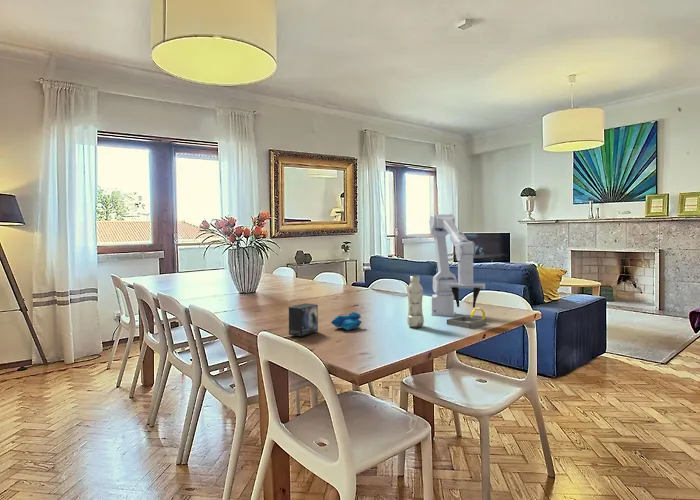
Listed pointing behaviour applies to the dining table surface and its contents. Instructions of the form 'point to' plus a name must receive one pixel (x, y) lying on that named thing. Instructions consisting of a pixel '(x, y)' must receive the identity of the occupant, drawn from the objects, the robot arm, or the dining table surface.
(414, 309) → the plastic bottle
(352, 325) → the crystal
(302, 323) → the small box
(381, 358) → the dining table surface
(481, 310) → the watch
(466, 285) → the robot arm
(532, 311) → the dining table surface
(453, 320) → the box
